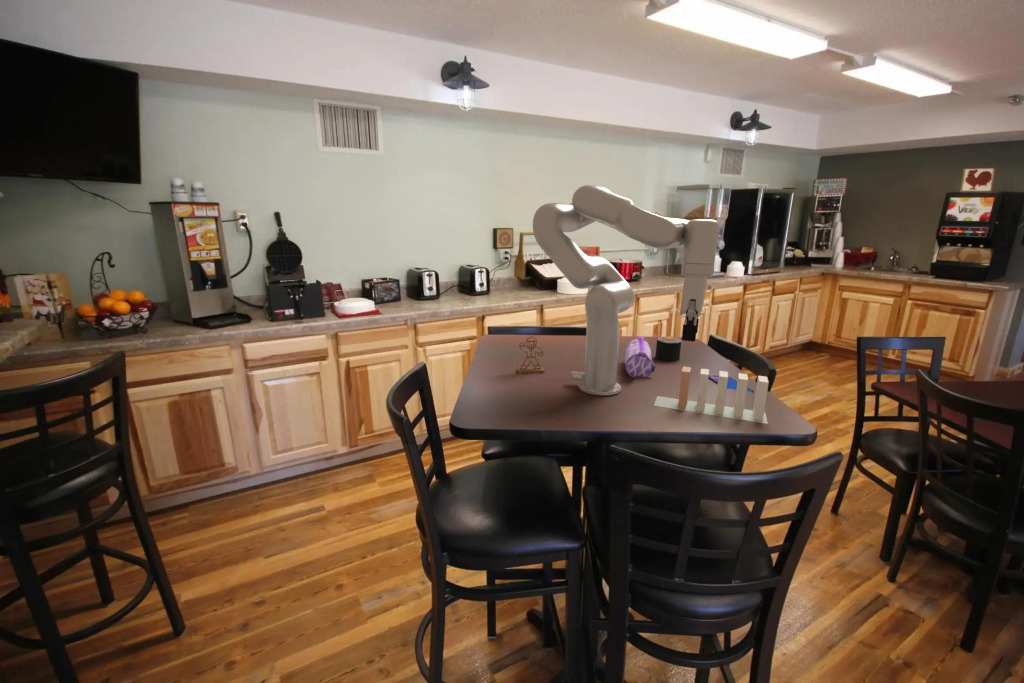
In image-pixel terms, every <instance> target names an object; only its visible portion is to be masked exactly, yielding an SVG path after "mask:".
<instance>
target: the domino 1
mask: <svg viewBox="0 0 1024 683" xmlns="http://www.w3.org/2000/svg"><path fill="white" fill-rule="evenodd" d="M691 373H692V367H690V366H686V365H685V366H684V365H683V367H682V369H681V374H680V384H679V391H678V392H679V394H678V399H679V401H678V408H685V409H686V406H687V401H689V399H688V398H689V392H690V381H691Z"/></svg>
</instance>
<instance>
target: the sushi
mask: <svg viewBox="0 0 1024 683" xmlns="http://www.w3.org/2000/svg"><path fill="white" fill-rule="evenodd" d="M655 346H656V347H655V348H656V349H655V358H656V359H658V358H659V359H658V360H662V361H665V362H666V361H667V362H673V361H675V360H677V361H679V360H680V359H681V349H682V339H680V338H679V337H674V336H670V335H669V336H660V337H657V338H656V345H655Z"/></svg>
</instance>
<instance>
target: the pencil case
mask: <svg viewBox="0 0 1024 683" xmlns="http://www.w3.org/2000/svg"><path fill="white" fill-rule="evenodd" d="M624 366H625V370H626V374H628V375H629V376H630V377H632V378H634V379H635V378H636V377H639V378H640V377H641V378H649V377H650V376H651V375H652V373H654V372H655V370H656V365H654V362H653V359H652V350H651V347H650V345H649V343H648V341H647V340H646V339H645V336H637V338H634V339H631V340H630V341H629V342H628V343H627V345H626V347H625V353H624Z"/></svg>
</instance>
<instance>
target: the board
mask: <svg viewBox="0 0 1024 683" xmlns="http://www.w3.org/2000/svg"><path fill="white" fill-rule="evenodd" d="M678 401H679V398H674V397H665V396H658V395H657V396H656V398H655V401H654V404H653V407H659V408H665V409H671V410H678V411H684V412H691V413H698V414H704V415H710V416H716V417H723V418H728V419H735V420H741V421H746V422H754V423H758V424H759V423H761V424H766V425H768V424H769V423H768V419H767V413H766V411H764V416H763V421H761V420H755V419H754V418H753V409H747V408H744V412H743V418H742V417H736V416H734V406H725V405H724V412H723V414H716V413H715V403H714V404H712V403H708V402H707V403H706V402H705V409H704V411H697V410H696V406H697V401H693V400H688V401H687V406H686V409H685V408H678Z"/></svg>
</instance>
